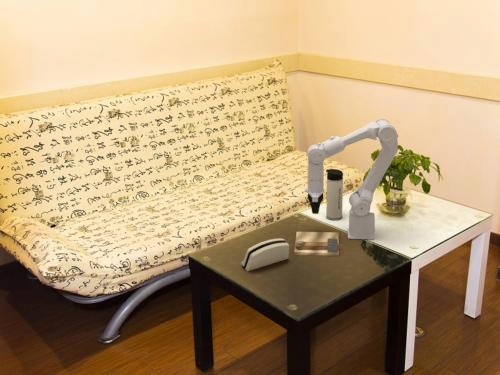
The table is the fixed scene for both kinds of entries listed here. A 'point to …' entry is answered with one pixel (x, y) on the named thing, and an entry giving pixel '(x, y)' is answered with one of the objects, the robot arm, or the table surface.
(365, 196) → the robot arm
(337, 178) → the travel mug
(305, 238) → the latch board
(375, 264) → the table surface
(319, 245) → the link
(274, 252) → the white pencil case
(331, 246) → the keeper
